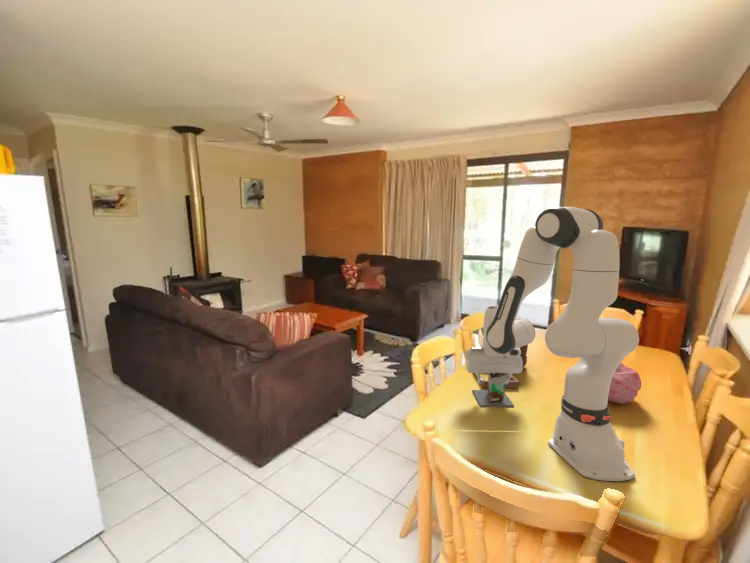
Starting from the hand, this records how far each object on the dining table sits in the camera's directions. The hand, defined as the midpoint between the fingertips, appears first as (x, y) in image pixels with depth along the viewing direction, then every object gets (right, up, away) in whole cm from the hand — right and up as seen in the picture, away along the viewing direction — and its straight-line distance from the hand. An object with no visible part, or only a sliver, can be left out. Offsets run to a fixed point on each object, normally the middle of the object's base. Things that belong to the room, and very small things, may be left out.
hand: (492, 383), depth 135 cm
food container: (+2, -6, +1) cm, 6 cm away
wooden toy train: (+16, -1, +32) cm, 36 cm away
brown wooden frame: (+6, -3, +18) cm, 19 cm away
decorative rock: (+45, -6, -1) cm, 45 cm away
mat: (0, -6, +1) cm, 6 cm away
